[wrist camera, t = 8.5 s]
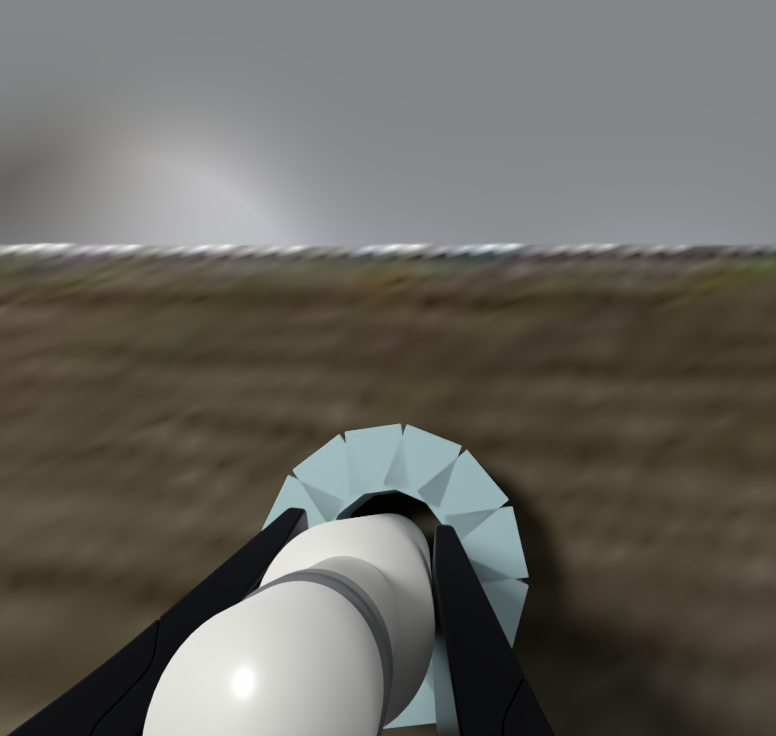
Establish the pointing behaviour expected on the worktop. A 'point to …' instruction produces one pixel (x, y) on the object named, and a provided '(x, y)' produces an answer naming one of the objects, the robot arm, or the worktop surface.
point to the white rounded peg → (311, 641)
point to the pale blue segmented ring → (430, 485)
